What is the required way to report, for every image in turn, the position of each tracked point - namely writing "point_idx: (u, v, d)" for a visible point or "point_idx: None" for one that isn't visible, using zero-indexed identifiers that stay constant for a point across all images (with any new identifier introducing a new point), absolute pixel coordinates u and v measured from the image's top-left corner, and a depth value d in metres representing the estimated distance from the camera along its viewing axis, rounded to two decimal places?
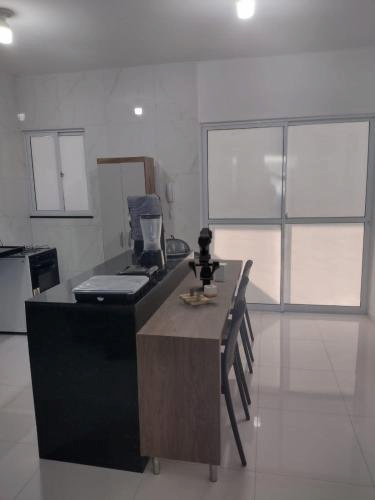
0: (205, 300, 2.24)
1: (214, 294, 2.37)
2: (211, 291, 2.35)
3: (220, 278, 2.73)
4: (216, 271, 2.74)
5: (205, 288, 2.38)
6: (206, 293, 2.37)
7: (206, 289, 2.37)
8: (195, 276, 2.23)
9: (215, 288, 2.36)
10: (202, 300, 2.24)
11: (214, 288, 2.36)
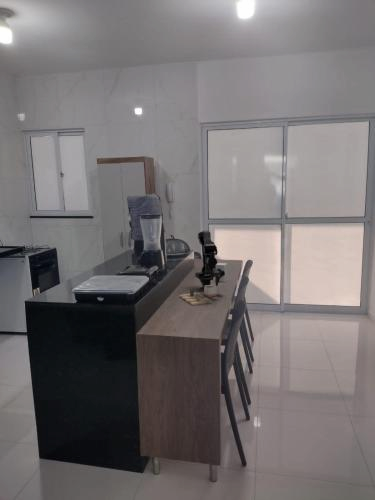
0: (205, 300, 2.24)
1: (214, 294, 2.37)
2: (211, 291, 2.35)
3: (220, 278, 2.73)
4: None
5: (205, 288, 2.38)
6: (206, 293, 2.37)
7: (206, 289, 2.37)
8: (203, 286, 2.36)
9: (215, 288, 2.36)
10: (202, 300, 2.24)
11: (214, 288, 2.36)
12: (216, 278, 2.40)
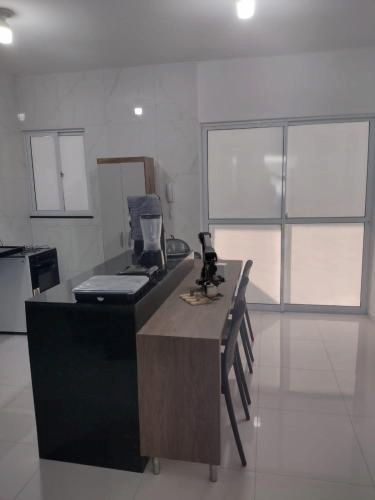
0: (205, 300, 2.24)
1: (214, 294, 2.37)
2: (211, 291, 2.35)
3: None
4: None
5: None
6: None
7: None
8: (205, 293, 2.37)
9: (215, 288, 2.36)
10: (202, 300, 2.24)
11: (214, 288, 2.36)
12: (214, 285, 2.40)
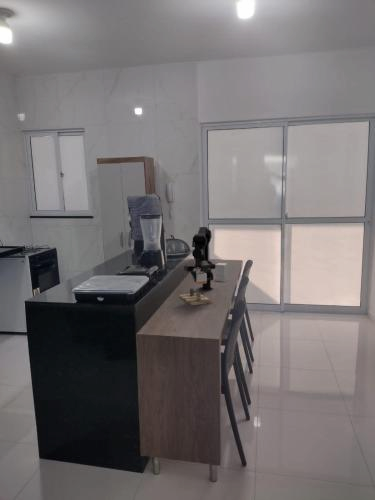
0: (205, 300, 2.24)
1: (204, 281, 2.23)
2: (201, 278, 2.22)
3: (220, 278, 2.73)
4: (216, 271, 2.74)
5: None
6: None
7: None
8: (195, 280, 2.23)
9: (205, 275, 2.23)
10: (202, 300, 2.24)
11: (204, 275, 2.22)
12: (204, 272, 2.27)
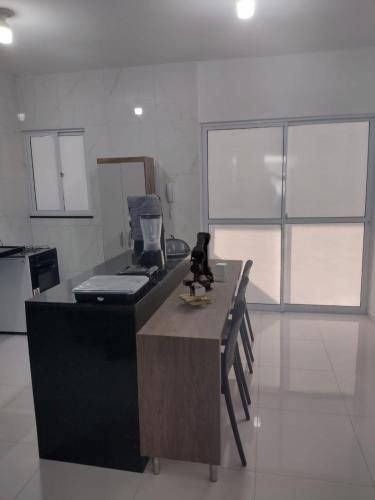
0: (205, 300, 2.24)
1: (202, 295, 2.23)
2: (199, 292, 2.22)
3: (220, 278, 2.73)
4: (216, 271, 2.74)
5: None
6: None
7: (194, 290, 2.23)
8: (193, 294, 2.23)
9: (203, 289, 2.23)
10: (202, 300, 2.24)
11: (202, 289, 2.22)
12: (203, 286, 2.27)
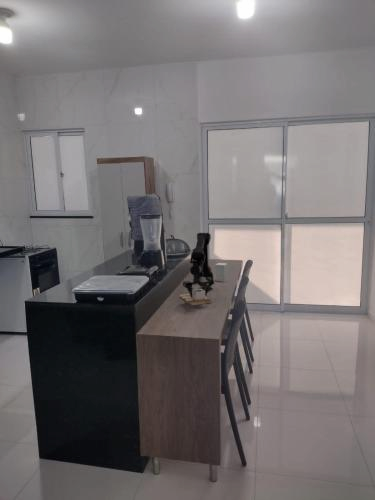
0: (205, 300, 2.24)
1: (202, 299, 2.23)
2: (199, 295, 2.22)
3: (220, 278, 2.73)
4: (216, 271, 2.74)
5: (193, 292, 2.25)
6: (194, 297, 2.24)
7: (194, 293, 2.23)
8: (191, 296, 2.23)
9: (203, 292, 2.23)
10: None
11: (202, 292, 2.23)
12: (205, 287, 2.27)
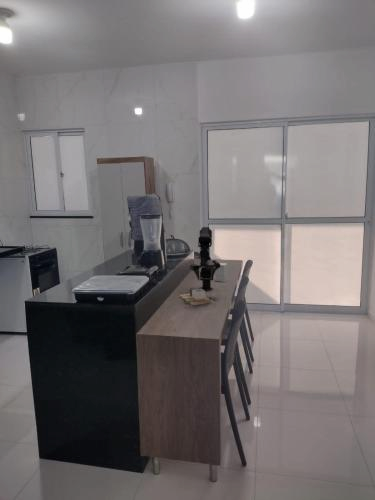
0: (205, 300, 2.24)
1: (202, 299, 2.23)
2: (199, 295, 2.22)
3: (220, 278, 2.73)
4: (216, 271, 2.74)
5: (193, 292, 2.25)
6: (194, 297, 2.24)
7: (194, 293, 2.23)
8: (198, 279, 2.31)
9: (203, 292, 2.23)
10: None
11: (202, 292, 2.23)
12: (211, 270, 2.35)
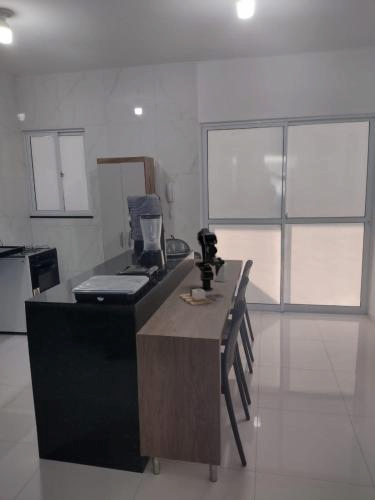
0: (205, 300, 2.24)
1: (202, 299, 2.23)
2: (199, 295, 2.22)
3: (220, 278, 2.73)
4: None
5: (193, 292, 2.25)
6: (194, 297, 2.24)
7: (194, 293, 2.23)
8: (203, 276, 2.37)
9: (203, 292, 2.23)
10: None
11: (202, 292, 2.23)
12: (216, 267, 2.41)
